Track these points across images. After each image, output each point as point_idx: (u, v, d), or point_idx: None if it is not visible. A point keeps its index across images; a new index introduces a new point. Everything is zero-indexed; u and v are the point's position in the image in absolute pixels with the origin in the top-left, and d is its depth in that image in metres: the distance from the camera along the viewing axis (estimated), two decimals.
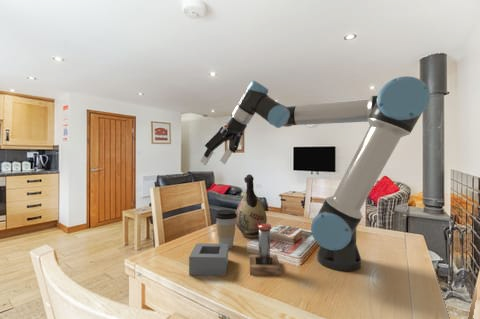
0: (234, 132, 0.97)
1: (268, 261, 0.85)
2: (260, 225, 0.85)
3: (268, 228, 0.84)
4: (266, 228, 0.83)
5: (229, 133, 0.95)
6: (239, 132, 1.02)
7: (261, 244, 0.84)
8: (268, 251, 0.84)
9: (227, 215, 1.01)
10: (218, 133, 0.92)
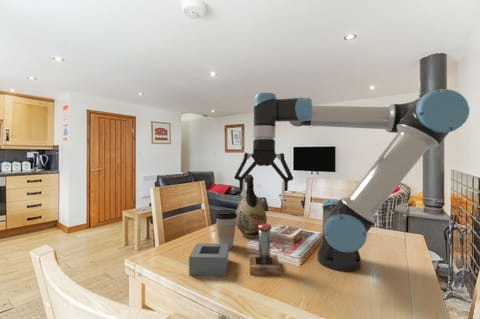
0: (264, 154, 0.84)
1: (268, 261, 0.85)
2: (260, 225, 0.85)
3: (268, 228, 0.84)
4: (266, 228, 0.83)
5: (255, 156, 0.84)
6: (278, 154, 0.85)
7: (261, 244, 0.84)
8: (268, 251, 0.84)
9: (227, 215, 1.01)
10: None
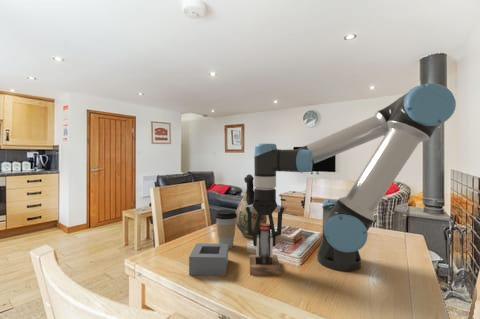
0: (265, 204, 0.84)
1: (268, 261, 0.85)
2: (260, 225, 0.86)
3: (268, 228, 0.84)
4: (266, 228, 0.83)
5: (256, 205, 0.84)
6: (279, 206, 0.85)
7: (261, 244, 0.84)
8: (268, 251, 0.84)
9: (227, 215, 1.01)
10: None
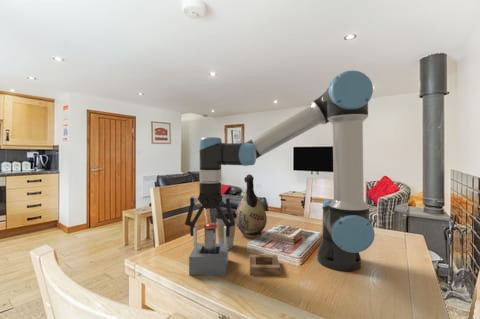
0: (209, 197, 0.85)
1: None
2: (206, 224, 0.86)
3: (212, 227, 0.84)
4: (210, 227, 0.84)
5: (201, 199, 0.85)
6: (224, 198, 0.85)
7: (205, 243, 0.85)
8: (213, 250, 0.85)
9: (227, 215, 1.01)
10: None
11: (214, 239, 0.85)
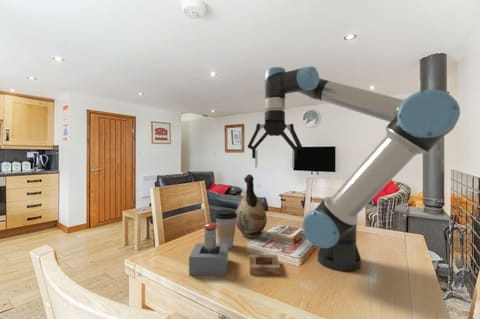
0: (274, 124, 0.91)
1: None
2: (206, 224, 0.86)
3: (213, 227, 0.84)
4: (210, 227, 0.84)
5: (266, 126, 0.92)
6: (287, 125, 0.92)
7: (206, 243, 0.85)
8: (213, 250, 0.85)
9: (227, 215, 1.01)
10: None
11: (214, 239, 0.85)
